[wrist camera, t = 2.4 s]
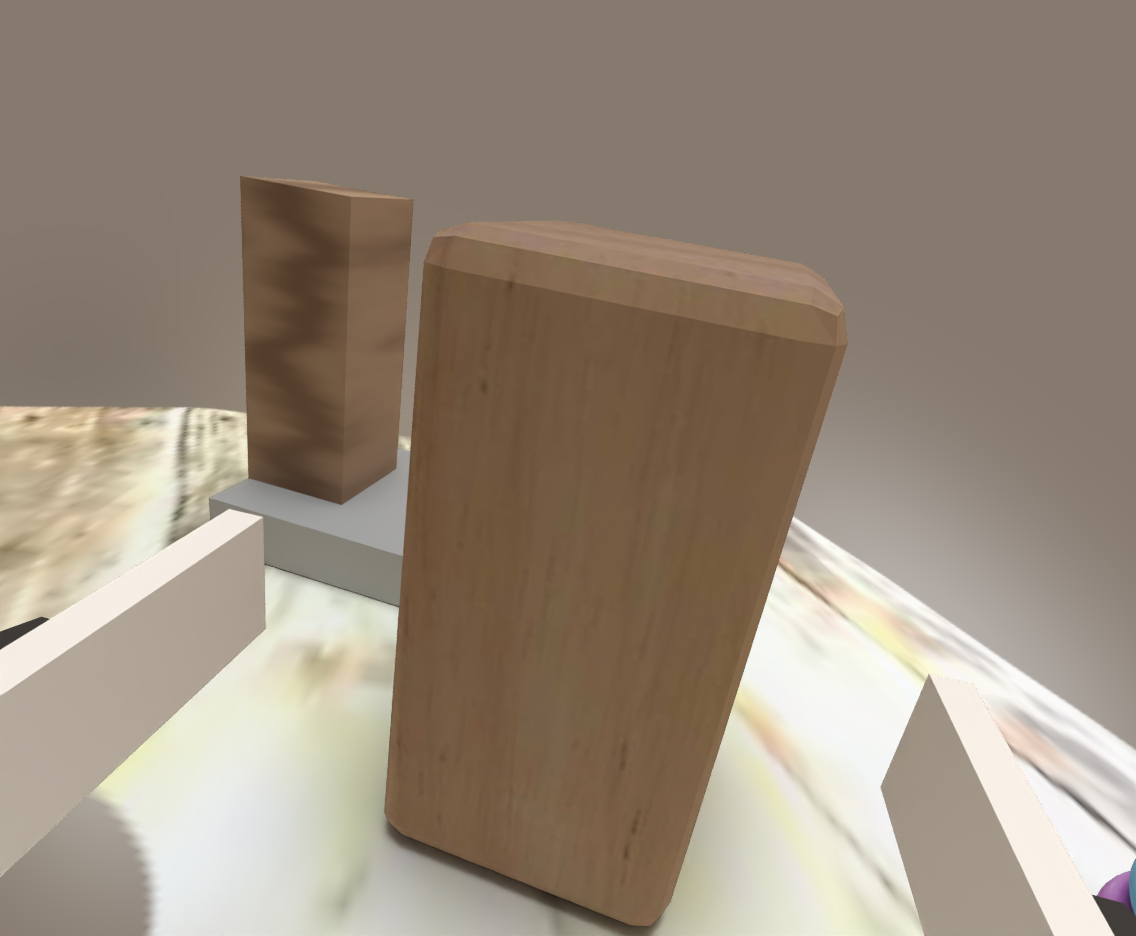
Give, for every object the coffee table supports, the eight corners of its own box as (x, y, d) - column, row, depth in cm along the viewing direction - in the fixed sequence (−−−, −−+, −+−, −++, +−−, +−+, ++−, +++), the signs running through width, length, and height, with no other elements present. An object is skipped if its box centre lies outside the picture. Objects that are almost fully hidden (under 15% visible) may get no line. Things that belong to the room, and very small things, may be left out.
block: (485, 663, 32) (546, 215, 24) (695, 732, 30) (833, 267, 22) (370, 837, 23) (409, 214, 15) (658, 953, 21) (868, 301, 13)
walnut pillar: (248, 478, 39) (240, 175, 33) (313, 446, 44) (316, 181, 38) (341, 504, 38) (351, 196, 31) (396, 468, 43) (413, 199, 37)
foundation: (211, 546, 37) (208, 496, 36) (338, 472, 48) (339, 431, 47) (637, 682, 32) (650, 628, 31) (672, 565, 43) (682, 522, 42)
